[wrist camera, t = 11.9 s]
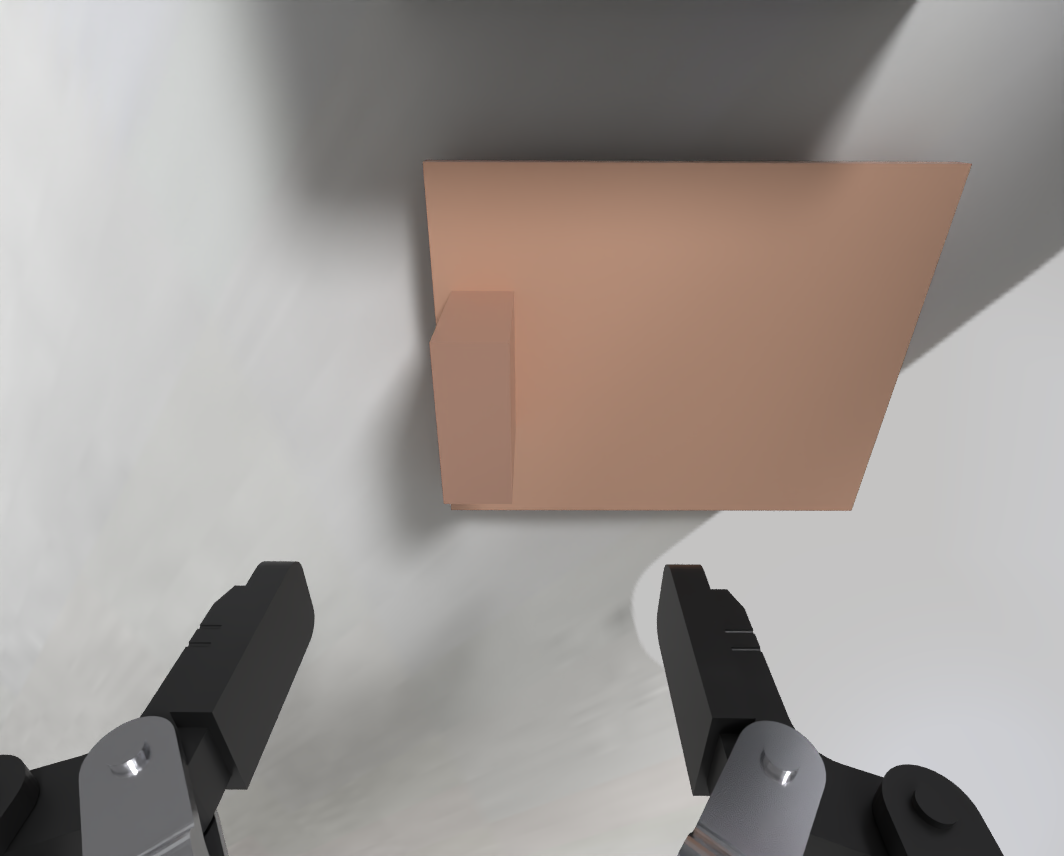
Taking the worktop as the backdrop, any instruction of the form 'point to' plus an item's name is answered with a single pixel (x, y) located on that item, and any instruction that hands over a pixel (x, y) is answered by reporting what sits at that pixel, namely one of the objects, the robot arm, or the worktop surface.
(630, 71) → the worktop surface
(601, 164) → the lid
